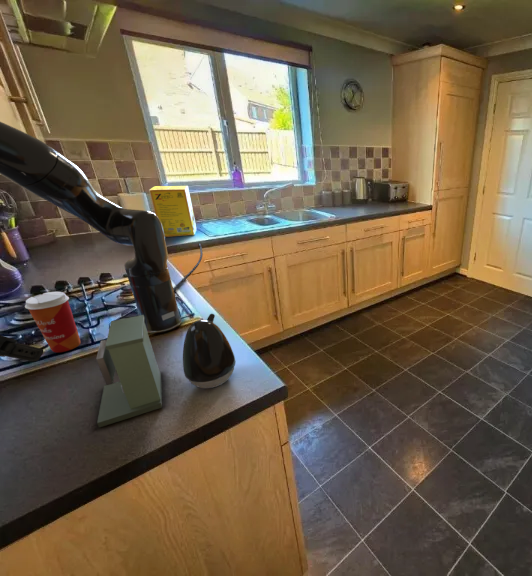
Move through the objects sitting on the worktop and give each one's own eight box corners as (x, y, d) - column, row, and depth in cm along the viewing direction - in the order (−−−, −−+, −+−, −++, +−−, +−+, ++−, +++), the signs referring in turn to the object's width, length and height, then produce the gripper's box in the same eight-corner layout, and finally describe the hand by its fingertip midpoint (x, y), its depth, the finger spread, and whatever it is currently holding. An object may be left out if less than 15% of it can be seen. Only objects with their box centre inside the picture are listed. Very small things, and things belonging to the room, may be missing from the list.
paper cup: (38, 350, 82) (15, 300, 76) (74, 335, 89) (54, 288, 83) (58, 358, 80) (35, 306, 74) (93, 341, 86) (74, 293, 81)
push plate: (110, 365, 67) (100, 340, 64) (116, 364, 67) (107, 339, 65) (106, 385, 61) (96, 359, 59) (113, 383, 62) (103, 357, 60)
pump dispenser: (244, 365, 79) (235, 309, 73) (227, 395, 70) (214, 334, 64) (201, 365, 79) (188, 309, 73) (178, 395, 69) (160, 334, 63)
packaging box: (165, 230, 192) (154, 186, 182) (196, 228, 198) (187, 185, 188) (160, 237, 179) (148, 189, 169) (194, 235, 185) (184, 189, 175)
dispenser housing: (105, 389, 70) (80, 325, 64) (161, 374, 75) (143, 313, 69) (98, 427, 61) (68, 356, 55) (163, 407, 66) (142, 340, 60)
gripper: (-89, 289, 41) (71, 334, 55) (-120, 296, 47) (33, 335, 61) (-137, 347, 38) (45, 379, 52) (-165, 347, 43) (8, 376, 57)
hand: (38, 355), depth 56 cm, fingers closed
